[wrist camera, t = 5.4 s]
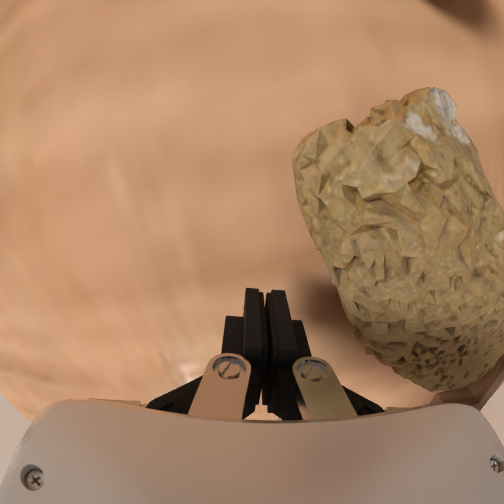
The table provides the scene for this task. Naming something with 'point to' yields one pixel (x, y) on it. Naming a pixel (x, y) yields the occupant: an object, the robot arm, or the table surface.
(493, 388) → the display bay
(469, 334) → the sponge
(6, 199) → the table surface
